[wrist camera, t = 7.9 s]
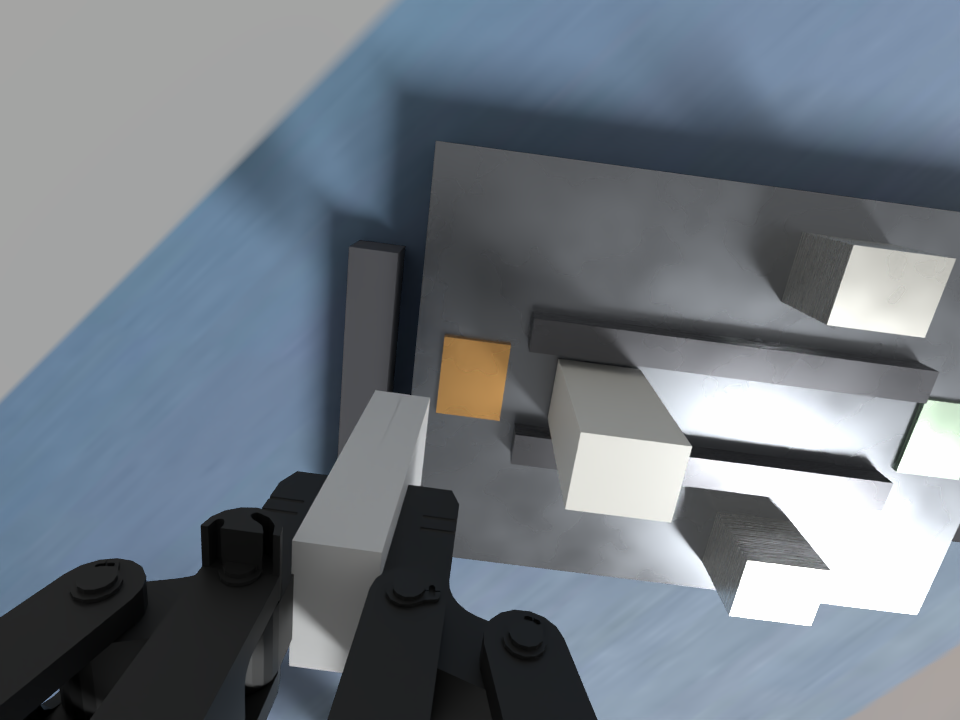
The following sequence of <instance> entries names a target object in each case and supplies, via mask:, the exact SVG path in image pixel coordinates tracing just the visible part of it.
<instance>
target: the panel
mask: <svg viewBox="0 0 960 720" xmlns="http://www.w3.org/2000/svg"><path fill="white" fill-rule="evenodd" d="M558 359H564V360H572V361H579V362H587V363H595V364H602V365H610V366H618V367H625V368H633V369H640V370H641V371H642V373H643V374H644V376H645V377H646V379H647V380H648V382H649V383H650V385H651V386H652V388H653V389H654V391H655V392H656V394H657V395H658V397H659V398H660V399H661V401H662V402H663V404H664V405H665V407H666V408H667V410H668V411H669V413H670V414H671V416H672V417H673V419H674V420H675V422H676V423H677V425H678V426H679V428H680V429H681V431H682V432H683V434H684V435H685V437H686V438H687V440H688V441H689V443H690V444H691V445H692V449H691V453H690V457H689V460H688V464H687V467H686V471H685V475H684V478H683V482H682V485H681V489H680V493H679V496H678V500H677V503H676V507H675V511H674V514H673V518H672V521H671V523H669V522H661V521H654V520H646V519H638V518H630V517H622V516H614V515H606V514H598V513H590V512H582V511H574V510H566V509H565V506H564V501H563V496H562V491H561V486H560V480H559V475H558V470H557V465H556V460H555V455H554V449H553V444H552V439H551V434H550V429H549V423H548V414H549V408H550V403H551V397H552V392H553V386H554V381H555V375H556V370H557V364H558ZM411 395H414V396H422V397H429V398H430V404H429V414H428V423H427V432H426V441H425V451H424V460H423V469H422V478H421V486H423V487H430V488H438V489H445V490H452V491H453V493H454V495H455V497H456V499H457V501H458V503H459V511H458V518H457V526H456V533H455V541H454V548H453V556H452V557H456V558H464V559H472V560H480V561H488V562H496V563H504V564H512V565H520V566H528V567H536V568H544V569H552V570H560V571H568V572H576V573H584V574H592V575H600V576H609V577H617V578H625V579H633V580H641V581H649V582H657V583H665V584H673V585H681V586H689V587H697V588H705V589H713V590H716V591H717V593H718V595H719V596H720V598H721V600H722V602H723V604H724V606H725V608H726V610H727V612H728V614H729V616H737V617H745V618H753V619H761V620H769V621H777V622H785V623H793V624H801V625H809V626H811V624H812V621H813V619H814V616H815V613H816V611H817V608H818V606H819V603H825V604H833V605H841V606H849V607H857V608H865V609H873V610H881V611H889V612H897V613H905V614H913V615H917V614H918V612H919V610H920V607H921V605H922V603H923V601H924V599H925V597H926V595H927V592H928V590H929V588H930V586H931V584H932V582H933V580H934V578H935V575H936V573H937V571H938V569H939V567H940V565H941V563H942V560H943V558H944V556H945V554H946V552H947V550H948V548H949V546H950V543H951V541H952V539H953V537H954V535H955V533H956V531H957V528H958V526H959V524H960V212H956V211H949V210H941V209H934V208H926V207H919V206H912V205H904V204H897V203H890V202H882V201H875V200H868V199H860V198H853V197H846V196H838V195H831V194H824V193H816V192H809V191H802V190H794V189H787V188H780V187H772V186H765V185H757V184H750V183H743V182H735V181H728V180H721V179H713V178H706V177H699V176H691V175H684V174H677V173H669V172H662V171H655V170H647V169H640V168H633V167H625V166H618V165H611V164H603V163H596V162H588V161H581V160H574V159H566V158H559V157H552V156H544V155H537V154H530V153H522V152H515V151H508V150H500V149H493V148H486V147H478V146H471V145H464V144H456V143H449V142H442V141H436V145H435V155H434V166H433V176H432V186H431V197H430V207H429V217H428V228H427V238H426V248H425V259H424V269H423V279H422V290H421V300H420V310H419V321H418V331H417V341H416V352H415V362H414V372H413V383H412V393H411Z"/></svg>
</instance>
